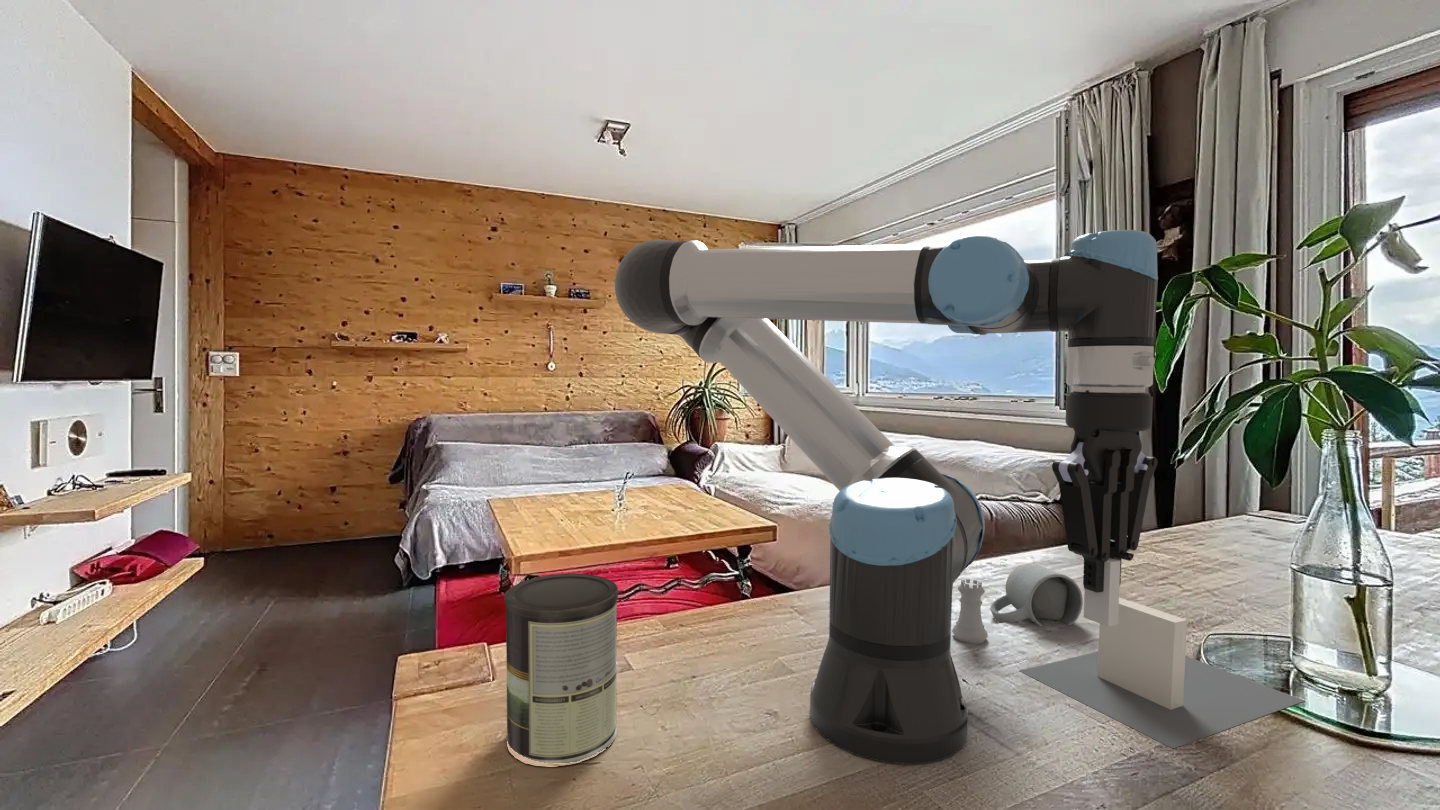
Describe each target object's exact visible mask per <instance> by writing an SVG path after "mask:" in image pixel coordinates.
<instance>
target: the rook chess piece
mask: <svg viewBox="0 0 1440 810" xmlns="http://www.w3.org/2000/svg"><path fill="white" fill-rule="evenodd" d="M957 590H958V592H959V593H960V597H959V598H958V599H959V603H960V610H959V615H958V616H959V617H958V619H957V620H956V622H955V625H953V626H952V629H951V633H953V636H954V638H955V639H956V640H958V641H959V642H963V643H967V644H974V645H975V644H977V645H978V644H984V642H986V639H987V638H988V636H989V634H988V631H987V630H986V628H985V625H984V623H983V620H982V611H981V609H982V607H981V606H982V605H983V601H982V596H983V595H984V594H985V589H984V588H983V584H982V581H978V580H976V579H973V580H972V582H971V579H970V578H966V579H961V581H960V584H959V585H958V587H957Z"/></svg>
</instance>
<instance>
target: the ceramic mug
mask: <svg viewBox="0 0 1440 810" xmlns="http://www.w3.org/2000/svg"><path fill="white" fill-rule="evenodd" d="M1083 601H1084V598H1083V593H1082V591H1081V588H1080V587H1079V585H1078V584H1077V582H1076V581H1075V580H1074V579H1073V578H1071V577H1069V576H1068V575H1066V574H1063V573H1060V572H1057V571H1054V570H1052V569H1049V568H1047V567H1044V566H1041V565H1038V564H1029V563H1028V564H1023V565H1019V566H1017V567H1016V568H1015V569H1013V570H1012V571H1010V574H1009V575H1008V576H1007V579H1006V583H1005V595H1002V596H1001V597H999V598H997V599H996V600H994V601H993V602H992V603H991V605H990V608H989V609H990V612H991V615H992V617H993V619H994V620H995V621H996V622H997V623H1001V624H1004V623H1009V622H1013V623H1018V622H1022V621H1025V620H1027V619H1029V620H1030V621H1032V622H1033V623H1034V624H1035V625H1037V626H1041V627H1043V624H1042V623H1041V622H1039V621H1038V620H1037V619H1040V620H1048V621H1059V620H1060V621H1062V622H1063V623H1065V625H1067V626H1072V625H1073V624H1075V623H1076V622H1077V621H1078V619H1079V616H1080V615H1081V613H1082V609H1083V606H1084V602H1083ZM1010 605H1012V607H1014V609H1015V610H1012V611H1006V612H999V611H1002V610H1003V609H1004V608H1007V607H1008V606H1010Z"/></svg>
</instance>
